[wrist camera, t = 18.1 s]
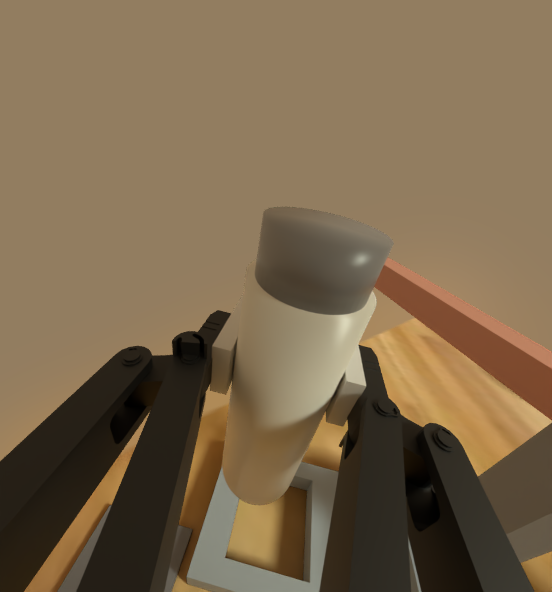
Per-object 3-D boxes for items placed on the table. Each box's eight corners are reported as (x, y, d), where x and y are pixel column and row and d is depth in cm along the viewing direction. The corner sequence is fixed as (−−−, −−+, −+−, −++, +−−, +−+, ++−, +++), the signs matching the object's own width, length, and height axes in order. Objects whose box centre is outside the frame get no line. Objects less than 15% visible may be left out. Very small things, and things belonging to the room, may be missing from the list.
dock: (416, 504, 27) (565, 383, 16) (461, 667, 18) (852, 645, 7) (228, 453, 28) (248, 307, 17) (187, 583, 19) (174, 457, 8)
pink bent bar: (552, 537, 15) (747, 457, 10) (523, 566, 14) (734, 491, 8) (331, 305, 35) (356, 236, 29) (310, 307, 33) (332, 235, 28)
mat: (192, 530, 22) (192, 529, 22) (133, 700, 15) (133, 700, 15) (110, 507, 22) (110, 505, 22) (18, 660, 15) (15, 660, 15)
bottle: (297, 433, 17) (384, 223, 9) (290, 515, 13) (430, 271, 5) (235, 416, 17) (269, 198, 9) (210, 492, 13) (231, 225, 6)
